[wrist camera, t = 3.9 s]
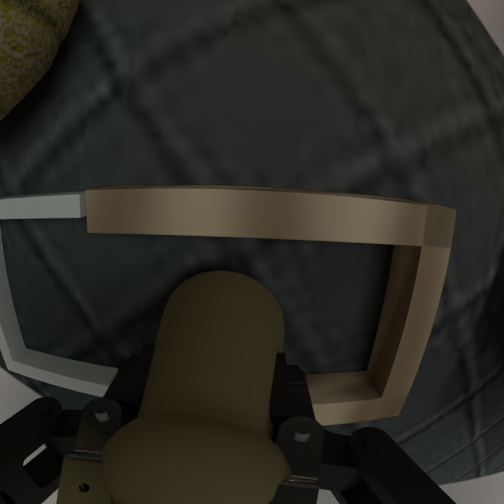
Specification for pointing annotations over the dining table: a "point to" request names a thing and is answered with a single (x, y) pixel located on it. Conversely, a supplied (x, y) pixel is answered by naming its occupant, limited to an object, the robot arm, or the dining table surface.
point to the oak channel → (319, 229)
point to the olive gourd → (205, 401)
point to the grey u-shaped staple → (4, 317)
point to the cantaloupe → (29, 44)
